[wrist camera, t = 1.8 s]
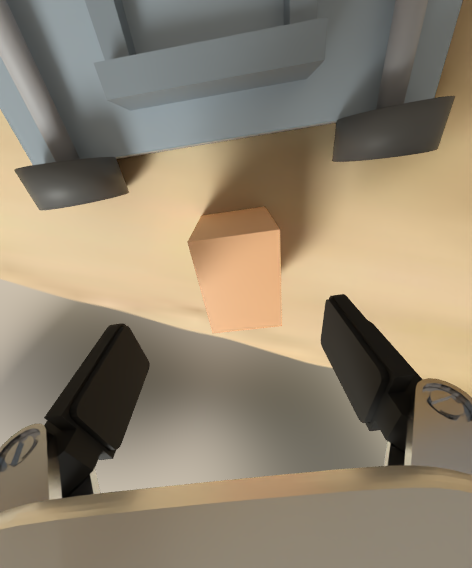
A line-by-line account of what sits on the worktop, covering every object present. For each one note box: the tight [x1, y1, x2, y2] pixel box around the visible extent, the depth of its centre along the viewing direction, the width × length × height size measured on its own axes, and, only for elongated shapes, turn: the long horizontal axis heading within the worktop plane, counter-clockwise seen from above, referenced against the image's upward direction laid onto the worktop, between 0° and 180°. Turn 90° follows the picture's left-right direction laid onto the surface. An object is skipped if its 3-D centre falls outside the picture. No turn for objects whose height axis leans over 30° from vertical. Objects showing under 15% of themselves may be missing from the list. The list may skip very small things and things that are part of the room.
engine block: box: [188, 206, 282, 333], centre depth 15 cm, size 5×7×6 cm
